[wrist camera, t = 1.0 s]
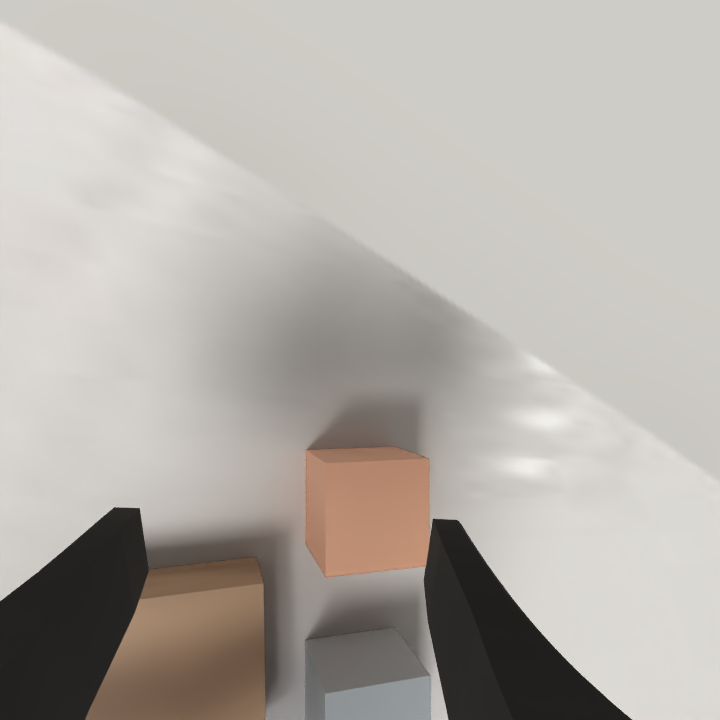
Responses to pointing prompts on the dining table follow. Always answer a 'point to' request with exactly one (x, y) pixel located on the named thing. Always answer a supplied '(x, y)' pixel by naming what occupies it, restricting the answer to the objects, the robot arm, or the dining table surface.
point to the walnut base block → (191, 648)
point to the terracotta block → (367, 509)
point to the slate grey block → (365, 678)
